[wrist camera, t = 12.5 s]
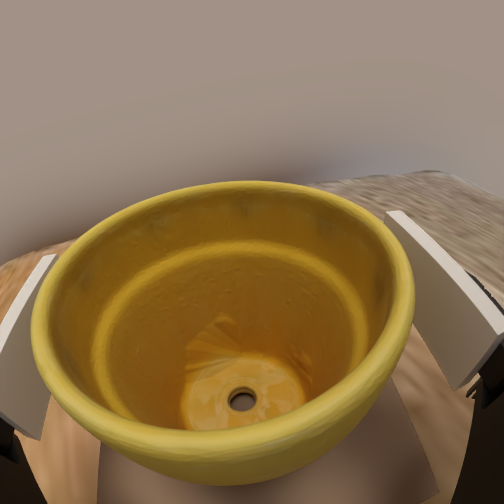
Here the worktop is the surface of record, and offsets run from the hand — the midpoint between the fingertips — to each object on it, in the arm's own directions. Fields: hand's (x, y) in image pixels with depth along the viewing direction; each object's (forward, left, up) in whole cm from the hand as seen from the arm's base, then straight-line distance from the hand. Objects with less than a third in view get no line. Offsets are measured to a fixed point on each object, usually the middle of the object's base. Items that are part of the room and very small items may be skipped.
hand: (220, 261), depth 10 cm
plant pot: (0, +2, -8) cm, 8 cm away
